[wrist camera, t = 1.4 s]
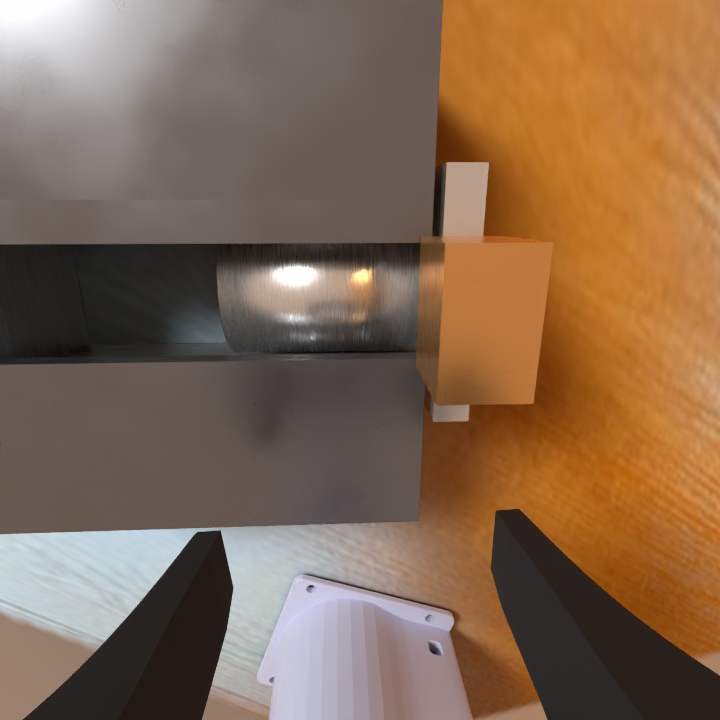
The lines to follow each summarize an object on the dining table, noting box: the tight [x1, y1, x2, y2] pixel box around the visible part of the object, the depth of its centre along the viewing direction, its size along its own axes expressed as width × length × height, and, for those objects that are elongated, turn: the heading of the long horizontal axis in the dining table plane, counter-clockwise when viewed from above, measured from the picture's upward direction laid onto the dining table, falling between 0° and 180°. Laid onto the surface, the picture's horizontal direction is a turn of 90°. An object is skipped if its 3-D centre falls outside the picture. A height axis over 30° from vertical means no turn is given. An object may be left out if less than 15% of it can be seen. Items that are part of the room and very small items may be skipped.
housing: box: [0, 0, 443, 534], centre depth 17 cm, size 16×16×6 cm
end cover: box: [217, 162, 554, 422], centre depth 15 cm, size 9×8×9 cm
